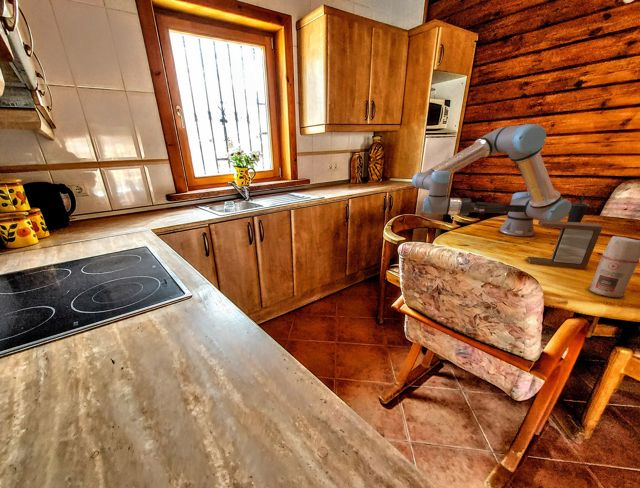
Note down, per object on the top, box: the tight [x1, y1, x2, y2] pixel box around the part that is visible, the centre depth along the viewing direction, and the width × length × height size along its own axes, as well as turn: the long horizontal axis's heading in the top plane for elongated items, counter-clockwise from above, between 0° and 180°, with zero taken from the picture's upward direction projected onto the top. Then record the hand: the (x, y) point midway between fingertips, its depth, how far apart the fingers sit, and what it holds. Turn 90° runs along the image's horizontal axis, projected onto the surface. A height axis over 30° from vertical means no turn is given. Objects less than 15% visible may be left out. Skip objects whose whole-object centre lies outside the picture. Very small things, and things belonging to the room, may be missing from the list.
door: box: [550, 228, 565, 260], centre depth 114 cm, size 2×9×14 cm, turn 64°
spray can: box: [588, 235, 640, 298], centre depth 92 cm, size 8×8×20 cm
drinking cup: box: [566, 192, 590, 223], centre depth 158 cm, size 8×8×20 cm
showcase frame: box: [526, 220, 604, 270], centre depth 115 cm, size 5×18×18 cm, turn 64°
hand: (524, 208), depth 117 cm, fingers closed
